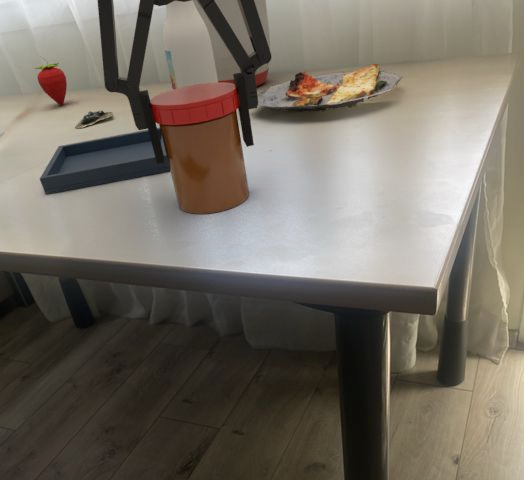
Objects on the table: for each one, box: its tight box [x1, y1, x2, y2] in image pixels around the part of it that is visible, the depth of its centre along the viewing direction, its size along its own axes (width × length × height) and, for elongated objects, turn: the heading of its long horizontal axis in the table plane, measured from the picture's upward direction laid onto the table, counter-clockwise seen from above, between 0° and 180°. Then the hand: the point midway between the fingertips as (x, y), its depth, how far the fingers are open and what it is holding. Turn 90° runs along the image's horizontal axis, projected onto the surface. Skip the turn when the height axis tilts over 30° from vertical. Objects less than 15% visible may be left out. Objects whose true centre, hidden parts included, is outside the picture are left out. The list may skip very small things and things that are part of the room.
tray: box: [39, 127, 171, 195], centre depth 75 cm, size 17×16×2 cm
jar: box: [158, 110, 250, 215], centre depth 56 cm, size 8×8×10 cm
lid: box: [150, 82, 240, 125], centre depth 53 cm, size 9×9×2 cm
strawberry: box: [34, 55, 68, 106], centre depth 116 cm, size 6×8×10 cm
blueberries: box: [74, 110, 114, 129], centre depth 100 cm, size 7×8×2 cm
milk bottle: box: [162, 0, 218, 90], centre depth 86 cm, size 8×8×20 cm
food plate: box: [257, 63, 404, 113], centre depth 87 cm, size 25×23×4 cm
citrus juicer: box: [193, 0, 271, 88], centre depth 103 cm, size 16×17×20 cm
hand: (204, 150), depth 56 cm, fingers closed on lid, 9 cm apart
